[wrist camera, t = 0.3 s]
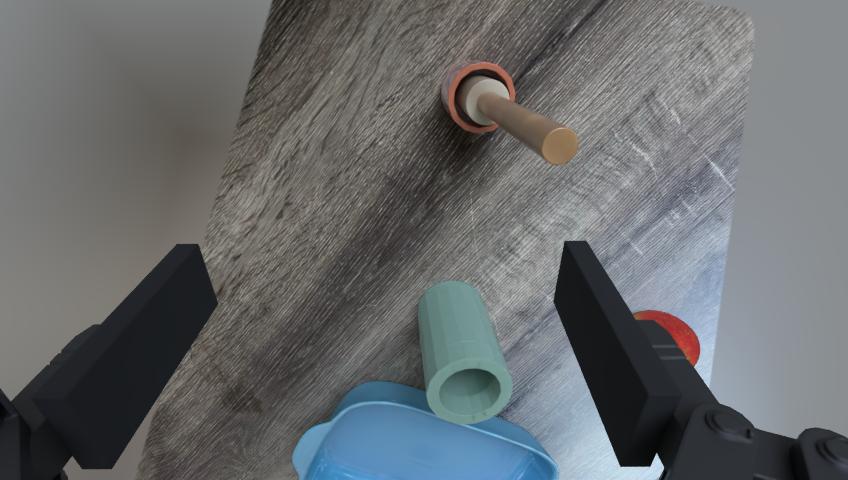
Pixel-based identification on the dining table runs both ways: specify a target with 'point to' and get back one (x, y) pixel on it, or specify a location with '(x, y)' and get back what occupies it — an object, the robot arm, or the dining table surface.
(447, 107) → the cup
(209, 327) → the dining table surface
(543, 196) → the dining table surface
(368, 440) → the casserole dish
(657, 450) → the robot arm
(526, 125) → the tan long rod
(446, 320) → the green cylindrical holder
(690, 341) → the apple
